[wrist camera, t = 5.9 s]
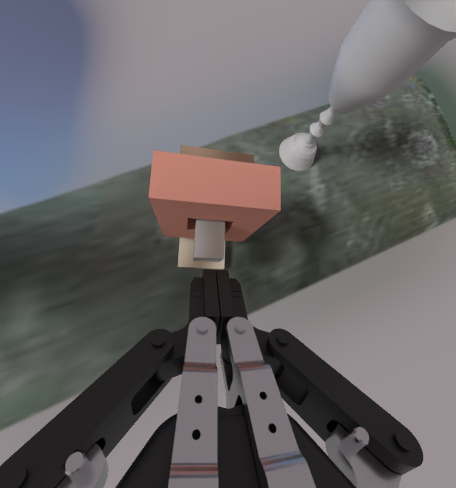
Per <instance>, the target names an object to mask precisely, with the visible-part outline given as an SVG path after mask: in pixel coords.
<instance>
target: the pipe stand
mask: <svg viewBox="0 0 456 488" xmlns="http://www.w3.org/2000/svg"><path fill="white" fill-rule="evenodd" d="M180 154H185V155H193V156H200V157H208V158H216V159H223V160H231V161H238V162H246V163H254V155H249V154H242V153H235V152H228V151H220V150H213V149H206V148H199V147H191V146H184V145H181V151H180ZM224 238H225V221H218V220H206V219H196V221H195V237H194V238H182V237H180V243H179V256H178V267H179V268H200V269H220V270H223V269H224V262H225V240H224Z"/></svg>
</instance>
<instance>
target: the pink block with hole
mask: <svg viewBox="0 0 456 488" xmlns="http://www.w3.org/2000/svg"><path fill="white" fill-rule="evenodd" d="M149 200H150V203H151V205H152V208H153V210H154V213H155V215H156V218H157V220H158V223H159V225H160V228H161V231H162V233H163V236H168V237H182V238H194V237H195V221H196V219H206V220H218V221H225V238H224V240H225V241H239V242H243V241H244V240H245V239H246V238H248V237H249V236H250V235H251V234H253V233H254V232H255V231H256V230H258V229H259V228H260V227H261V226H262V225H264V224H265V223H266V222H267V221H269V220H270V219H271V218H272V217H273V216H275V215H276V214H277V213H278V212H280V211H281V188H280V167H276V166H269V165H261V164H254V163H246V162H238V161H231V160H223V159H216V158H208V157H200V156H193V155H185V154H177V153H170V152H162V151H153V160H152V170H151V179H150V189H149Z"/></svg>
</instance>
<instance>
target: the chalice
mask: <svg viewBox="0 0 456 488" xmlns="http://www.w3.org/2000/svg"><path fill="white" fill-rule="evenodd" d="M454 38H456V0H370V1H369V3H368V4H367V6H366V7H365V9H364V10H363V12H362V13H361V15H360V16H359V18H358V20H357V21H356V23H355V24H354V26H353V27H352V29H351V31H350V32H349V34H348V35H347V37H346V38H345V40H344V42H343V44H342V47H341V50H340V53H339V56H338V59H337V62H336V65H335V68H334V73H333V78H332V83H331V87H330V92H329V102H330V105H331V107H330V108H329V109H328V110H326V111H324V112H322V113H321V114H320V120H319V122H317V123H313V124H311V126H310V133H309V134H306V133H297V134H295V135H293V136H291V137H289V138H287V139H285V140H284V141H283V142H282V143H281V145H280V149H279V153H280V157H281V160H282V162H283V163H284V164H285V165H286V166H287V167H289V168H290V169H292V170H295V171H304V170H307V169H308V168H310V167H311V165H312V164H313V162H314V158H315V154H316V151H317V146H316V142H315V140H314V138H316V137H320V136H322V135H323V133H324V127H325V126H326V125H330V124H332V122H333V118H334V116H335V114H336V113H337V112H340V113H348V112H351V111H353V110H356V109H358V108H361V107H364V106H366V105H369V104H371V103H374V102H376V101H377V100H379V99H381V98H383V97H385V96H387V95H389V94H390V93H392V92H394V91H396V90H397V89H398V88H399V87H400V86H401V85H402V84H403V83H405V82H406V81H407V80H408V79H409V78H410V77H411V76H412V75H413V74H414V73H415V72H416V71H417V70H418V69H419V68H420V67H422V66H423V65H424V64H425V63H426V62H427V61H428V60H429V59H430V58H431V57H432V56H433V55H434V54H435V53H436V52H438V51H439V50H440V49H441V48H442V47H443V46H444V45H445V44H446V43H447V42H448V41H450V40H452V39H454Z"/></svg>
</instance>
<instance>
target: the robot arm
mask: <svg viewBox="0 0 456 488" xmlns="http://www.w3.org/2000/svg"><path fill="white" fill-rule="evenodd" d="M216 344H221V350H222V351H221V356H220V358H221V365H222V371H223V377H224V383H225V389H226V397H227V398H226V408H222V407H218V406H217V378H218V376H217V367H216ZM180 374H182V382H181V390H180V398H179V406H178V413H177V414H175V415H173V416H172V417H170V418H169V419H167V420H166V421H165V422H164V423H162V424H161V425H160V426H159V427H158V429H157V430H156V431H155V432H154V434H153V435H152V436H151V438H150V439H149V441H148V442H147V443H146V445H145V446H144V448H143V449H142V451H141V452H140V453H139V455H138V456H137V458H136V459H135V461H134V462H133V463H132V465H131V466H130V468H129V469H128V471H127V472H126V473H125V475H124V476H123V478H122V479H121V480H120V482H119V483H118V485H117V486H116V488H398V487H399V483H400V479H401V476H402V475H403V474H405V473H406V472H408V471H410V470H412V469H414V468H416V467H418V466H420V465H421V464H422V462H423V452H422V449H421V447H420V444H419V443H418V441H417V439H416V438H415V437H414V435H413V434H412V433H411V432H410V431H409V430H408V429H407V428H406V427H404V426H403V425H402V424H401V423H400V422H398V421H397V420H396V419H395V418H394V417H392V416H391V415H390V414H389V413H388V412H386V411H385V410H384V409H383V408H381V407H380V406H379V405H378V404H376V403H375V402H374V401H373V400H372V399H370V398H369V397H368V396H367V395H365V394H364V393H363V392H362V391H361V390H359V389H358V388H357V387H356V386H354V385H353V384H352V383H351V382H349V381H348V380H347V379H346V378H345V377H343V376H342V375H341V374H340V373H338V372H337V371H336V370H335V369H333V368H332V367H331V366H330V365H328V364H327V363H326V362H325V361H324V360H322V359H321V358H320V357H319V356H317V355H316V354H315V353H314V352H313V351H311V350H310V349H309V348H308V347H306V346H305V345H304V344H303V343H302V342H300V341H299V340H298V339H297V338H295V337H294V336H293V335H292V334H291V333H289V332H288V331H286V330H284V329H274V330H272V331H271V332H270V333H269V332H265V331H262V330H259V329H257V328H255V327H254V326H252V324H251V323H250V322H249V321H248V318H247V314H246V309H245V305H244V300H243V295H242V291H241V286H240V284H239V282H238V281H237V280H236V279H232V278H229V274H228V270H216V271H215V270H210V269H203V277H202V278H197V277H195V278H194V279H193V281H192V283H191V291H190V309H189V323H188V324H187V326H185V327H184V328H183V329H181V330H179V331H176V332H173V333H170V332H169V331H168V330H165V329H156V330H153V331H151V332H150V333H148V334H147V335H146V336H145V337H144V338H143V339H142V340H140V341H139V342H138V343H137V344H136V345H135V346H134V347H133V348H131V349H130V350H129V351H128V352H127V353H126V354H125V355H124V356H123V357H121V358H120V359H119V360H118V361H117V362H116V363H115V364H114V365H113V366H111V367H110V368H109V369H108V370H107V371H106V372H105V373H104V374H102V375H101V376H100V377H99V378H98V379H97V380H96V381H95V382H94V383H92V384H91V385H90V386H89V387H88V388H87V389H86V390H85V391H83V392H82V393H81V394H80V395H79V396H78V397H77V398H76V399H75V400H73V401H72V402H71V403H70V404H69V405H68V406H67V407H66V408H65V409H63V410H62V411H61V412H60V413H59V414H58V415H57V416H56V417H55V418H53V419H52V420H51V421H50V422H49V423H48V424H47V425H45V427H43V428H42V429H41V430H40V431H39V432H38V433H37V434H36V435H34V436H33V437H32V438H31V439H30V440H29V441H28V442H26V443H25V444H24V445H23V446H22V447H21V448H20V449H19V450H18V451H16V452H15V453H14V454H13V455H12V456H11V457H10V458H9V459H8V460H6V461H5V462H4V463H3V464H2V465H1V466H0V488H103V487H104V485H105V483H106V480H107V476H108V463H107V460H106V457H107V456H108V455H109V453H110V452H111V451H112V450H113V449H114V447H115V446H116V445H117V444H118V443H119V441H120V440H121V439H122V438H123V437H124V435H125V434H126V433H127V432H128V431H129V429H130V428H131V427H132V426H133V425H134V423H135V422H136V421H137V420H138V418H139V417H140V416H141V415H142V414H143V413H144V411H145V410H146V409H147V408H148V407H149V405H150V404H151V403H152V402H153V401H154V399H155V398H156V397H157V396H158V395H159V393H160V392H161V391H162V390H163V388H164V387H165V386H166V385H167V384H168V383H169V381H170V380H171V378H173V377H175V376H178V375H180ZM282 399H283V400H284V401H286V403H287V404H288V405H289V406H291V408H292V409H293V410H294V411H295V412H296V413H297V414H298V415H299V416H300V417H301V418H302V419H303V420H304V421H305V422H306V423H307V424H308V425H309V426H310V427H311V428H312V429H313V430H314V431H315V432H316V433H317V434H318V435H319V436H320V437H321V438H322V439H323V440H324V441H325V442H326V450H327V453H328V456H327V455H326V454H325V452H323V450H322V449H321V448H320V447H319V446H318V445H317V444H316V442H315V441H314V440H313V439H312V438H311V437H310V436H309V435H308V434H307V433H306V431H305V430H304V429H303V428H302V427H301V426H300V425H299V424H298V423H297V422H296V421H295V420H294V419H293V418H292V417H291V416H290V415H289V414H287V413H286V410H285V407H284V404H283V401H282Z"/></svg>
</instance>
